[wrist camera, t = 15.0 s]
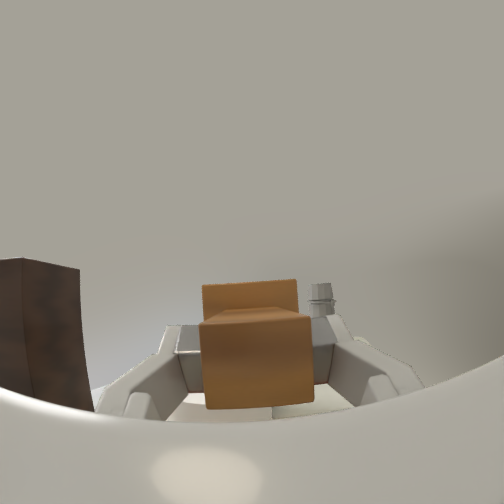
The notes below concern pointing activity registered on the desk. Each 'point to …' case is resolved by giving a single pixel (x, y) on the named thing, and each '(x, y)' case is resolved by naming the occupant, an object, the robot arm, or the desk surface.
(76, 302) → the stand
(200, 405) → the white stepped cylinder
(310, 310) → the water bottle
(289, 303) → the wooden t-shaped block
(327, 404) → the desk surface
